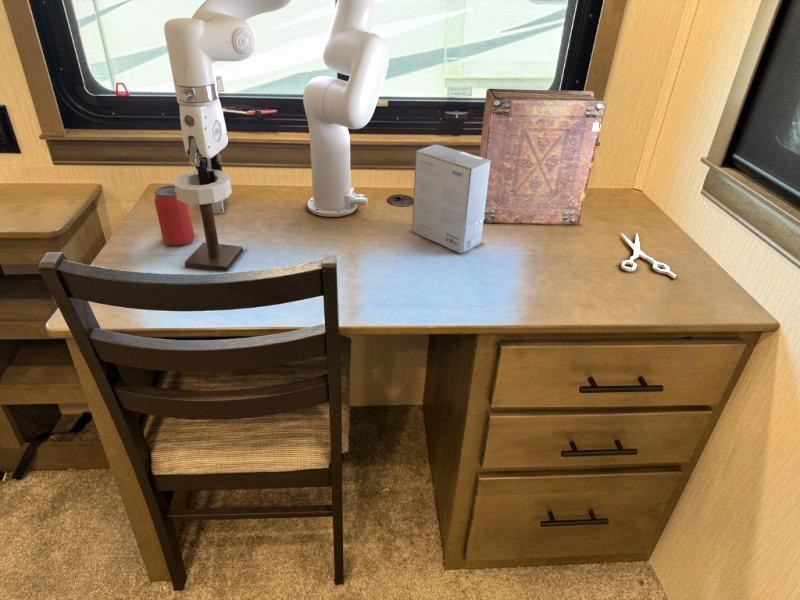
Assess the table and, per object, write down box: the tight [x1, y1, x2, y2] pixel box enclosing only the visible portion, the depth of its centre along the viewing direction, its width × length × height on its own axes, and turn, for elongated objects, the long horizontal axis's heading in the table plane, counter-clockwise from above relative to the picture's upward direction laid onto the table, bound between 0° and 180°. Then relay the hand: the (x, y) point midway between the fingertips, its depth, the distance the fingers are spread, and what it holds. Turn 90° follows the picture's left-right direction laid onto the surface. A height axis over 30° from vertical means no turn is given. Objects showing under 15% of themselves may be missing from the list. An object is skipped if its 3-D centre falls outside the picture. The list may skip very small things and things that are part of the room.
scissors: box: [620, 232, 677, 279], centre depth 127 cm, size 11×1×20 cm
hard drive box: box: [411, 143, 491, 254], centre depth 125 cm, size 16×8×20 cm, turn 47°
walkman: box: [204, 161, 225, 214], centre depth 137 cm, size 8×3×12 cm, turn 13°
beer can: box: [154, 184, 195, 247], centre depth 122 cm, size 7×7×12 cm
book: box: [478, 88, 607, 226], centre depth 133 cm, size 25×9×30 cm, turn 91°
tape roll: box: [172, 169, 233, 205], centre depth 110 cm, size 10×10×3 cm
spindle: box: [184, 203, 244, 272], centre depth 115 cm, size 9×9×13 cm
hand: (212, 184), depth 114 cm, fingers closed on tape roll, 2 cm apart
